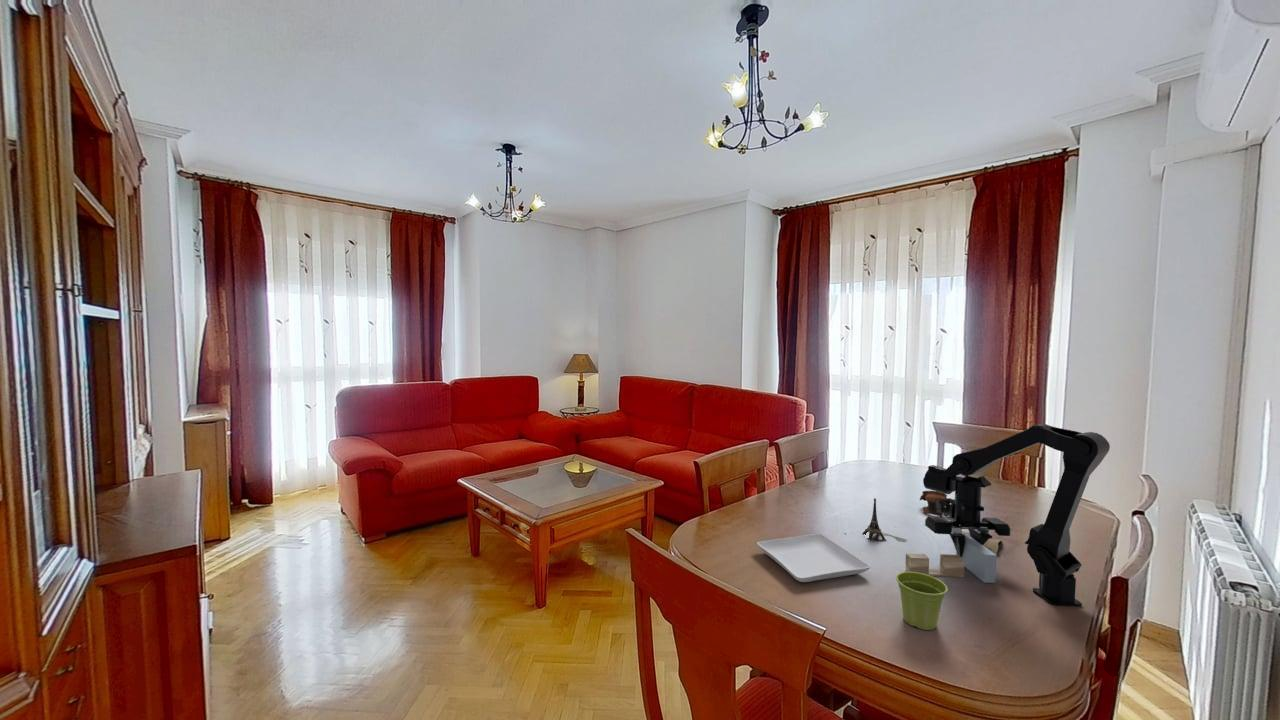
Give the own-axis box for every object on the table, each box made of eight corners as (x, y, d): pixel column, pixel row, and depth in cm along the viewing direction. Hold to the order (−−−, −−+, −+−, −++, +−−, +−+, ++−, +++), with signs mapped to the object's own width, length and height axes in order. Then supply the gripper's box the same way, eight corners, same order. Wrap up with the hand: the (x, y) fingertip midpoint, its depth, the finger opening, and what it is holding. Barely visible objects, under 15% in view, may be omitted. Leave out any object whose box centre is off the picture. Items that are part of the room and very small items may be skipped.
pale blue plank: (995, 583, 119) (996, 555, 118) (984, 582, 119) (985, 554, 119) (966, 559, 131) (967, 534, 130) (956, 559, 131) (957, 534, 131)
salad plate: (798, 591, 116) (798, 577, 116) (754, 552, 137) (754, 540, 136) (872, 579, 122) (873, 566, 121) (820, 544, 142) (820, 532, 142)
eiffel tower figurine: (908, 541, 144) (909, 497, 143) (894, 552, 137) (895, 505, 137) (858, 527, 155) (859, 485, 155) (843, 535, 149) (843, 492, 148)
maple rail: (964, 577, 122) (964, 559, 122) (910, 575, 123) (910, 557, 123) (958, 572, 125) (958, 554, 124) (905, 570, 126) (905, 553, 125)
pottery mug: (913, 512, 168) (914, 489, 171) (928, 520, 172) (929, 497, 175) (950, 514, 158) (950, 489, 161) (965, 522, 162) (965, 497, 165)
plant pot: (927, 609, 108) (929, 571, 107) (956, 635, 98) (958, 593, 98) (886, 610, 108) (887, 571, 107) (911, 636, 98) (912, 594, 98)
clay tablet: (996, 560, 132) (997, 550, 132) (953, 549, 139) (953, 539, 139) (1003, 543, 143) (1003, 534, 143) (962, 534, 150) (962, 525, 150)
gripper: (985, 490, 135) (983, 545, 136) (915, 488, 137) (914, 543, 138) (1013, 504, 124) (1010, 564, 125) (937, 502, 126) (935, 561, 127)
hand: (965, 557), depth 129 cm, fingers closed on pale blue plank, 3 cm apart
